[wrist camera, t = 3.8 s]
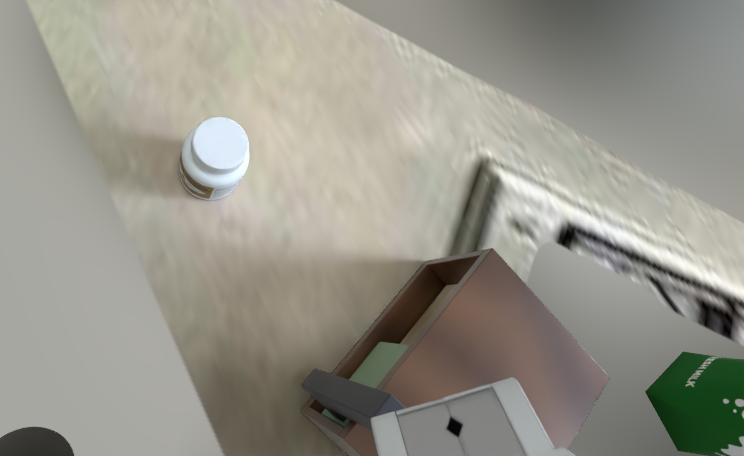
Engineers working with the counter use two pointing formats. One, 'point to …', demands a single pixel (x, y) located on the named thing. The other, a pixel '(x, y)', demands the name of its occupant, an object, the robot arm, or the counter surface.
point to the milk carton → (702, 404)
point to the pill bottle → (214, 158)
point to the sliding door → (357, 388)
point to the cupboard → (473, 348)
